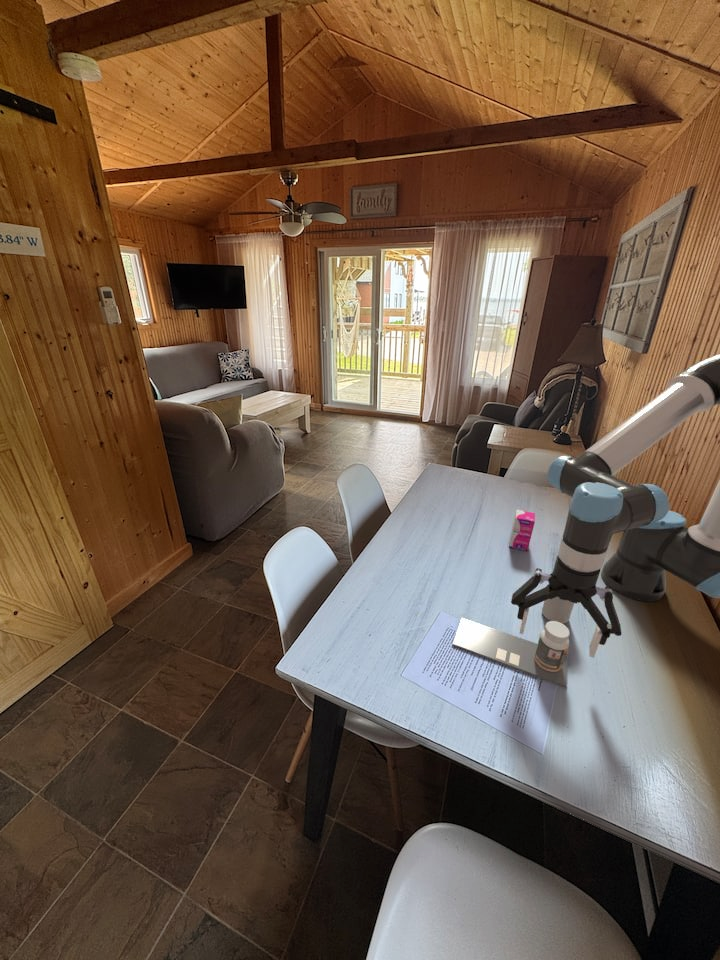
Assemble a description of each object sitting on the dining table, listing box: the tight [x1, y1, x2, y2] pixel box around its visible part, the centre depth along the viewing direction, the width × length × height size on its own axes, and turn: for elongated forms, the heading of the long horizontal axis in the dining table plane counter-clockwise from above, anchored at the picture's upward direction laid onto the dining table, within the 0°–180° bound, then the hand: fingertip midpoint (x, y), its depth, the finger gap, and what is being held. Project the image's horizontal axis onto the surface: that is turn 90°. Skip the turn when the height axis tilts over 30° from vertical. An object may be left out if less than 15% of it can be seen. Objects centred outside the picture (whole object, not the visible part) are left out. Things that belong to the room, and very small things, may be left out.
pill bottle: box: [535, 620, 571, 672], centre depth 84 cm, size 6×6×10 cm
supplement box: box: [508, 509, 536, 552], centre depth 125 cm, size 6×6×12 cm
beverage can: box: [541, 596, 575, 625], centre depth 97 cm, size 6×6×12 cm
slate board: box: [451, 617, 568, 689], centre depth 90 cm, size 24×9×1 cm, turn 63°
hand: (555, 640), depth 84 cm, fingers open, 13 cm apart
